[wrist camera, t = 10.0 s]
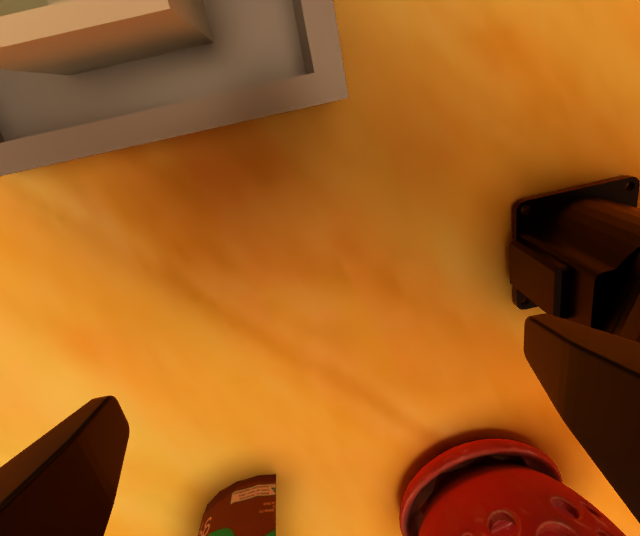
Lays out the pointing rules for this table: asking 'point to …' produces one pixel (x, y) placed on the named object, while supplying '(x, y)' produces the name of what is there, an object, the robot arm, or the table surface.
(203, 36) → the small crate
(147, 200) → the table surface
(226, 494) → the food container
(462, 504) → the plant pot
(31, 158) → the big crate
